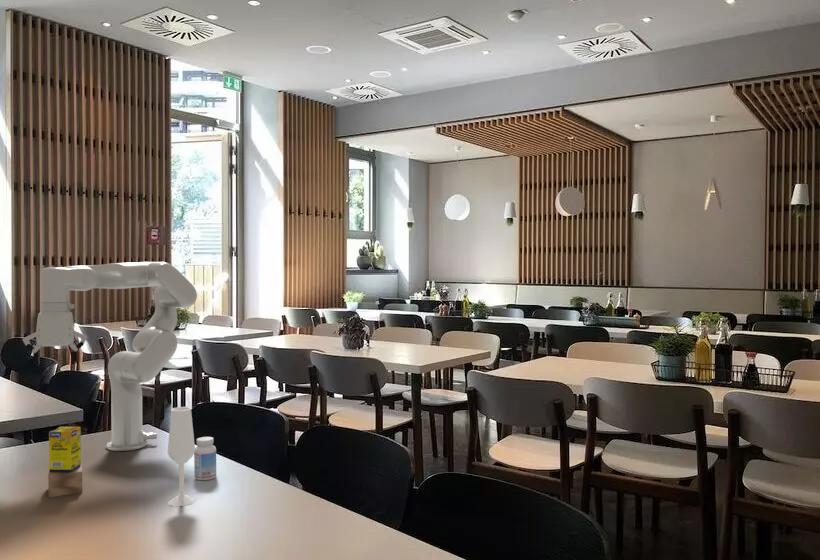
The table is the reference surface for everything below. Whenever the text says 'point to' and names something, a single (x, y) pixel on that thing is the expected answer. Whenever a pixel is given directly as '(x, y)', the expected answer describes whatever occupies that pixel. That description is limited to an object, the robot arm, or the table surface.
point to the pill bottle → (205, 459)
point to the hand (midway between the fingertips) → (55, 364)
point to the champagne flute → (181, 448)
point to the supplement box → (64, 449)
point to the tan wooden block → (65, 482)
